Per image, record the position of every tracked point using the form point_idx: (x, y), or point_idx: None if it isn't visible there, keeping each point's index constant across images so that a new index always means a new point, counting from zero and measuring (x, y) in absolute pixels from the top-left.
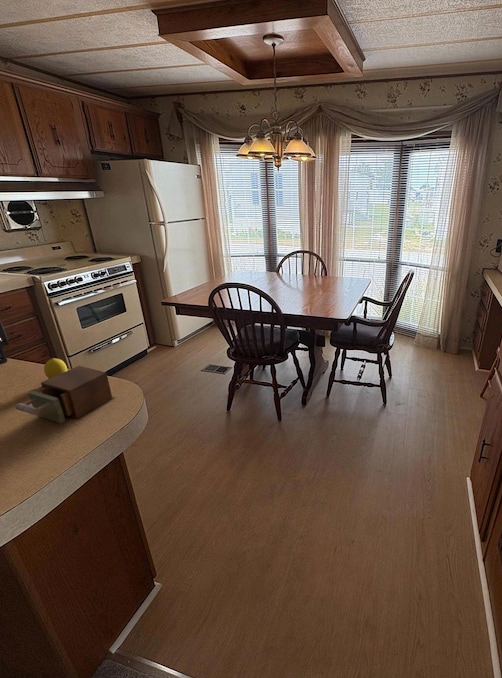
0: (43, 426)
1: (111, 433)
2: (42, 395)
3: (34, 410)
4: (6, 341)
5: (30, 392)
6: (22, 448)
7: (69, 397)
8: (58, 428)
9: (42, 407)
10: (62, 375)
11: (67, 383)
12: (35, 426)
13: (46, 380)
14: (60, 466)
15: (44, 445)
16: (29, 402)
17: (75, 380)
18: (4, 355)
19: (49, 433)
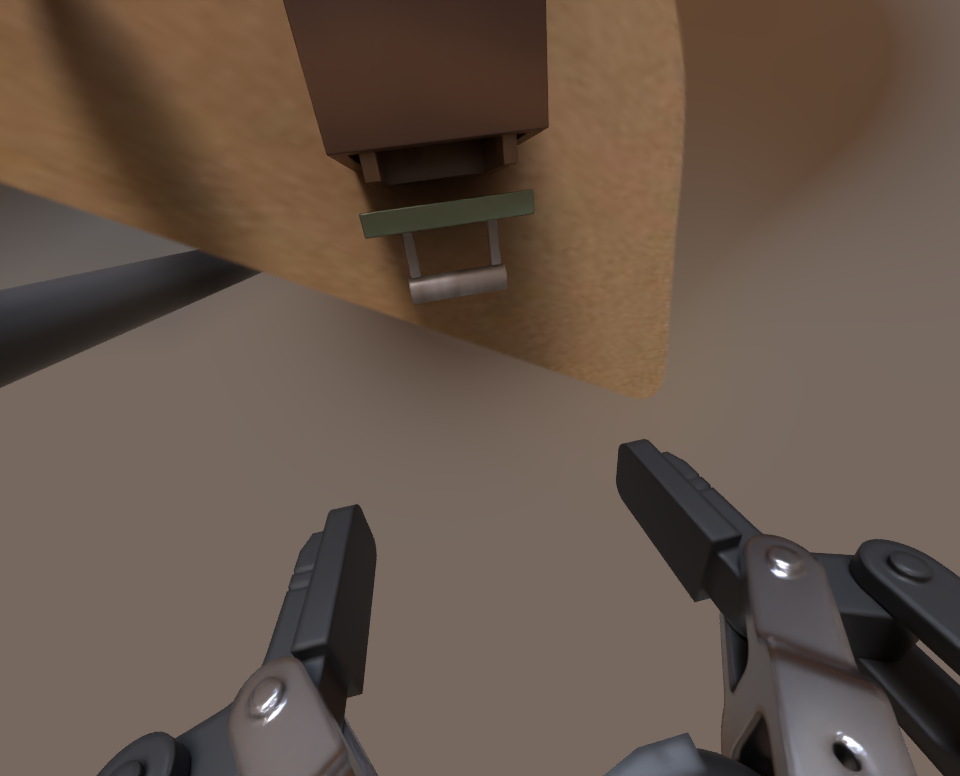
0: (453, 244)
1: (679, 147)
2: (448, 215)
3: (506, 280)
4: (950, 591)
5: (371, 230)
6: (511, 325)
7: (522, 137)
8: (505, 224)
9: (499, 249)
10: (323, 7)
11: (464, 74)
12: (432, 258)
13: (324, 120)
14: (653, 308)
15: (548, 290)
16: (416, 258)
17: (467, 14)
18: (704, 485)
19: (507, 254)
